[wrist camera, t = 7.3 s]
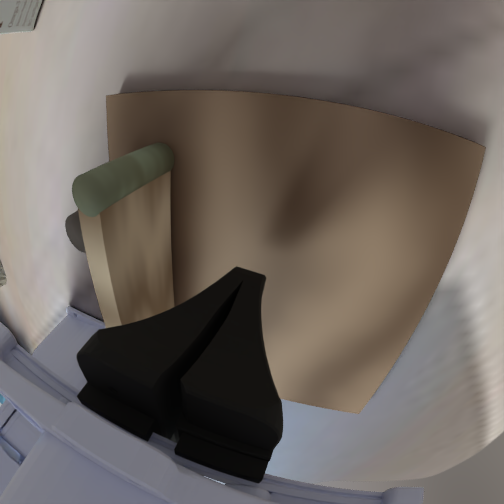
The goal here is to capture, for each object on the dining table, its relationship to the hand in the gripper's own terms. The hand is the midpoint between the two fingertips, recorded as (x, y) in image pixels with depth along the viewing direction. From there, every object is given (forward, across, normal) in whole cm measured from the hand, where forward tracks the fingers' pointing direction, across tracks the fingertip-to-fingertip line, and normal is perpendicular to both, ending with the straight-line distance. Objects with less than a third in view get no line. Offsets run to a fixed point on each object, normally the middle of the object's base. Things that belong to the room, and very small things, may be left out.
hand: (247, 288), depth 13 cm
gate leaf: (+2, +5, +3) cm, 7 cm away
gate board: (+4, 0, +2) cm, 4 cm away
